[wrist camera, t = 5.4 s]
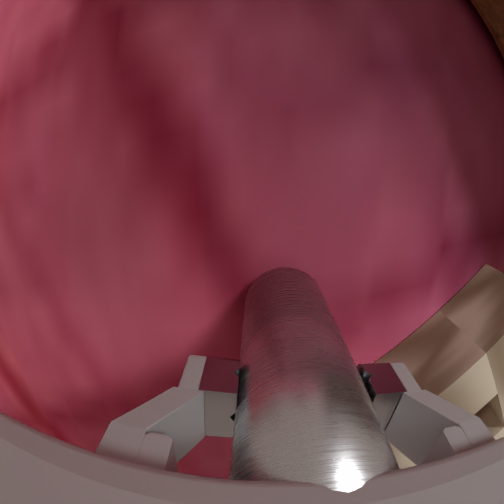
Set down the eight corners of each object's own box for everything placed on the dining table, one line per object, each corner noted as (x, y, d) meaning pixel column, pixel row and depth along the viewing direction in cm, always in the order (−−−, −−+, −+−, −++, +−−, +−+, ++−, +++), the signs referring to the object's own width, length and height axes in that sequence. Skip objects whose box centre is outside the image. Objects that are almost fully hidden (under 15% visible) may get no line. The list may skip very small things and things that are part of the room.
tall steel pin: (290, 251, 13) (385, 538, 2) (336, 307, 14) (445, 547, 3) (229, 300, 14) (175, 576, 3) (277, 349, 15) (297, 595, 3)
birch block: (485, 263, 14) (539, 292, 10) (515, 377, 17) (545, 407, 12) (309, 406, 17) (321, 468, 12) (392, 473, 19) (407, 513, 15)
